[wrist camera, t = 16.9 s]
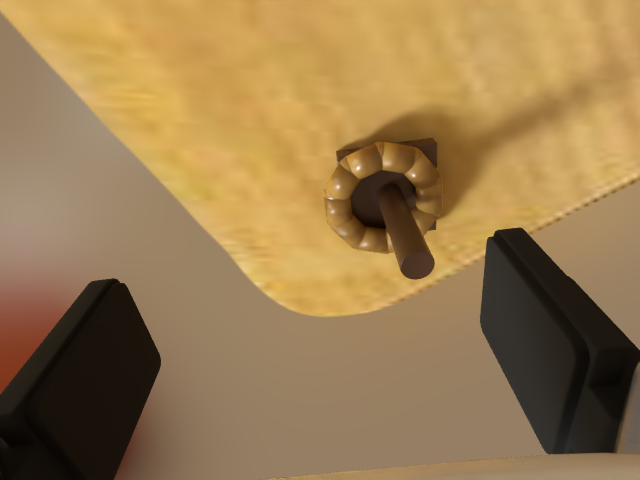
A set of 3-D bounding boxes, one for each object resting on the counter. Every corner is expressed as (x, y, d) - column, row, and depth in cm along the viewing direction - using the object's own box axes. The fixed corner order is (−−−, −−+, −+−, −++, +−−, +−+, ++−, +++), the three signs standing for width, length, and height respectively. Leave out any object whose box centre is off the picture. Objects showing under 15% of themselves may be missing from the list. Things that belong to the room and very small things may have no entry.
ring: (439, 129, 35) (447, 137, 33) (437, 238, 41) (444, 251, 39) (317, 146, 36) (317, 155, 34) (332, 252, 41) (333, 264, 39)
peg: (432, 137, 37) (487, 199, 25) (432, 222, 42) (478, 307, 30) (336, 151, 38) (346, 217, 26) (346, 233, 42) (358, 321, 30)
